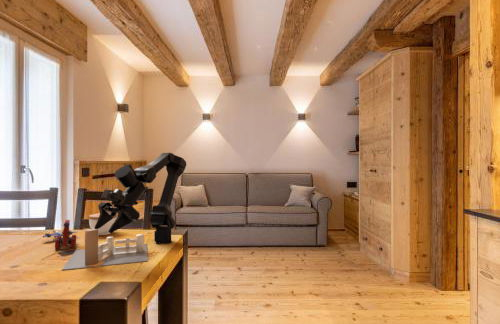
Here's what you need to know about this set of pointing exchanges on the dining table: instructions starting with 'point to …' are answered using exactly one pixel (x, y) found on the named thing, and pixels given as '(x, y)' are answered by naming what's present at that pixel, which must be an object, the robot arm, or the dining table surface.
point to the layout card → (107, 258)
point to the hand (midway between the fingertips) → (102, 230)
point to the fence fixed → (138, 246)
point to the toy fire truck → (65, 237)
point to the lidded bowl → (104, 228)
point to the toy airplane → (56, 234)
